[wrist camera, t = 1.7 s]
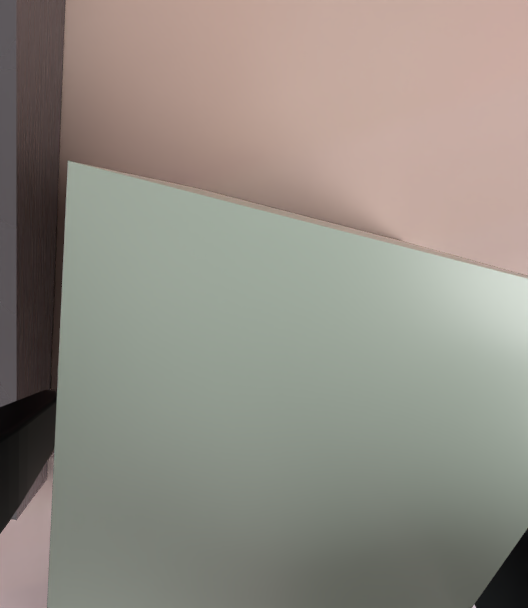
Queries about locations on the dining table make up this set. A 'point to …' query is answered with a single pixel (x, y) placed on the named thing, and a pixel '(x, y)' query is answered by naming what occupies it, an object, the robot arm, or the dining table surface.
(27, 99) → the base plate
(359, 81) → the dining table surface
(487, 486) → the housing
